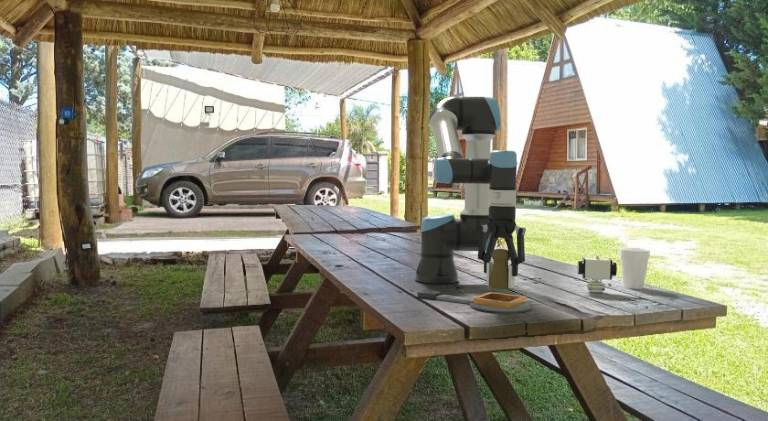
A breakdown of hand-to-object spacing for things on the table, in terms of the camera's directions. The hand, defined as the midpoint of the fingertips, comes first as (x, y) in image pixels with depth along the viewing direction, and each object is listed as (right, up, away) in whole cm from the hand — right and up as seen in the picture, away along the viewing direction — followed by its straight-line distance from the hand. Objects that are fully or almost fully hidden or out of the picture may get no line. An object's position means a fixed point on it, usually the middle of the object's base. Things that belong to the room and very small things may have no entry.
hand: (500, 286), depth 179 cm
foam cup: (+52, -5, +35) cm, 63 cm away
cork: (0, -1, 0) cm, 1 cm away
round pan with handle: (-7, -6, +5) cm, 11 cm away
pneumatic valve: (+36, -5, +26) cm, 44 cm away
